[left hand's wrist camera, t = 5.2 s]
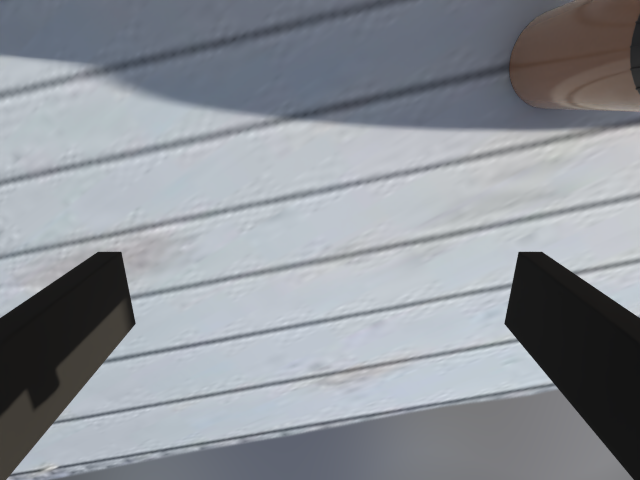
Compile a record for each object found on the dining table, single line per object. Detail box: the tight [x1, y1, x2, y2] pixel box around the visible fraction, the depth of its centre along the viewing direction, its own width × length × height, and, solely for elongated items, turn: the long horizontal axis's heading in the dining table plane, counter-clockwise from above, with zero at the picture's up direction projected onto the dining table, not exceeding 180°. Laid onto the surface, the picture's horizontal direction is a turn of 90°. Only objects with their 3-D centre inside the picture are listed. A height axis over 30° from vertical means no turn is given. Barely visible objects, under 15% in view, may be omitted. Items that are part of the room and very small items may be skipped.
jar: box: [509, 0, 640, 112], centre depth 28 cm, size 9×9×17 cm
